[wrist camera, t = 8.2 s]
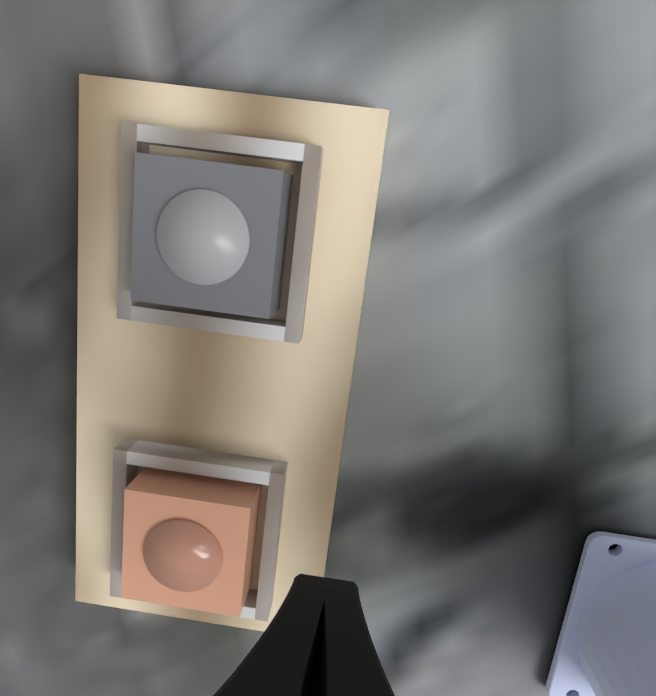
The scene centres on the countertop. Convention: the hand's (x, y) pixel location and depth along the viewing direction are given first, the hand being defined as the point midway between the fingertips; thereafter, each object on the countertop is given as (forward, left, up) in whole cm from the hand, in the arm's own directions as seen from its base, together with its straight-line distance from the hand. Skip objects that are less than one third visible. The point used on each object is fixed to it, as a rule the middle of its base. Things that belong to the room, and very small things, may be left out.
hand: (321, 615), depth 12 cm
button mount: (+5, -2, -9) cm, 11 cm away
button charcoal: (+5, -8, -8) cm, 12 cm away
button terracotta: (+5, +4, -8) cm, 10 cm away
